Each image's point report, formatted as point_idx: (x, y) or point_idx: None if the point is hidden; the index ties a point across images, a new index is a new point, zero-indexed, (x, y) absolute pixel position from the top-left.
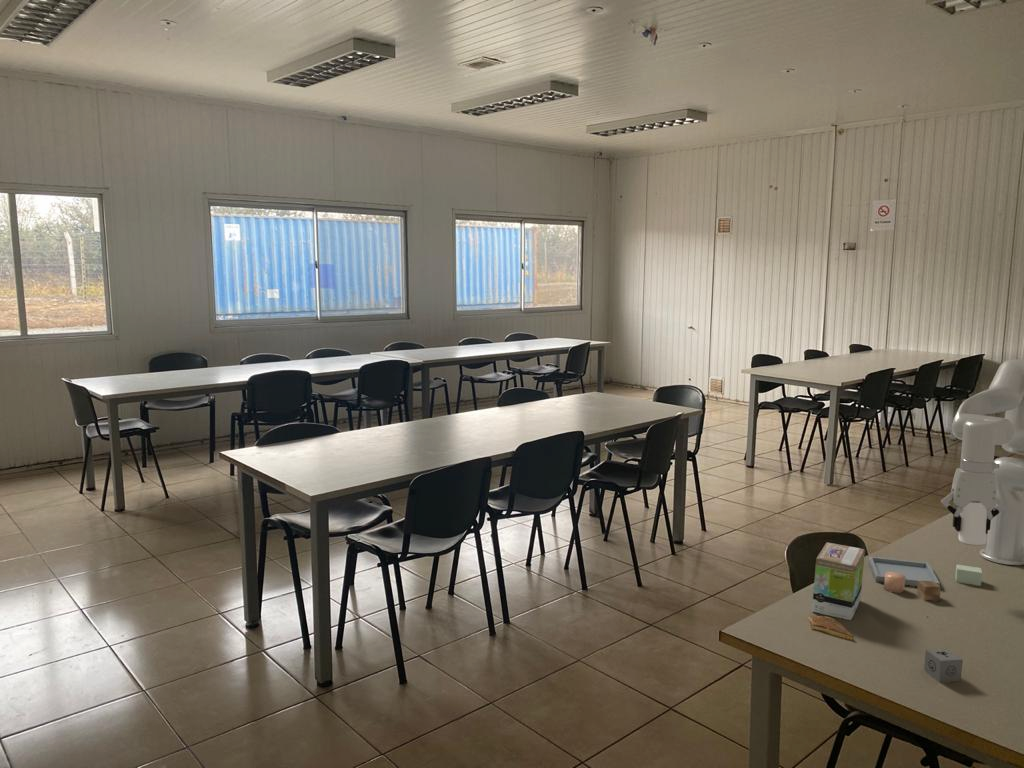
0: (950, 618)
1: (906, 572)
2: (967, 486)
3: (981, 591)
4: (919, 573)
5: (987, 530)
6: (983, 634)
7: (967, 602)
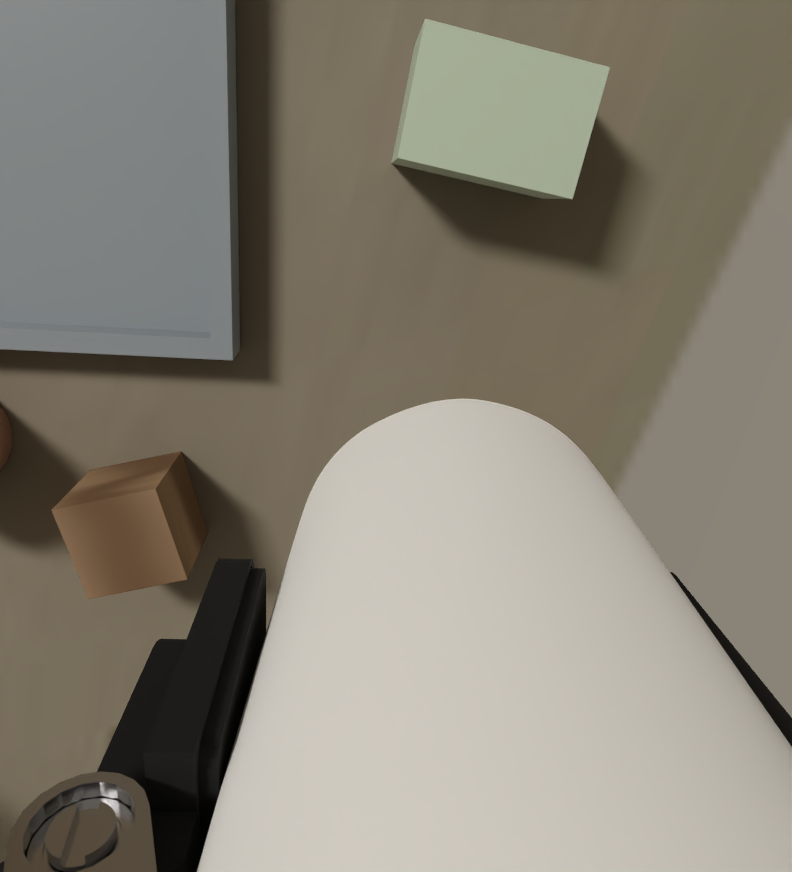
0: None
1: (34, 91)
2: None
3: (507, 307)
4: (135, 86)
5: None
6: None
7: None
